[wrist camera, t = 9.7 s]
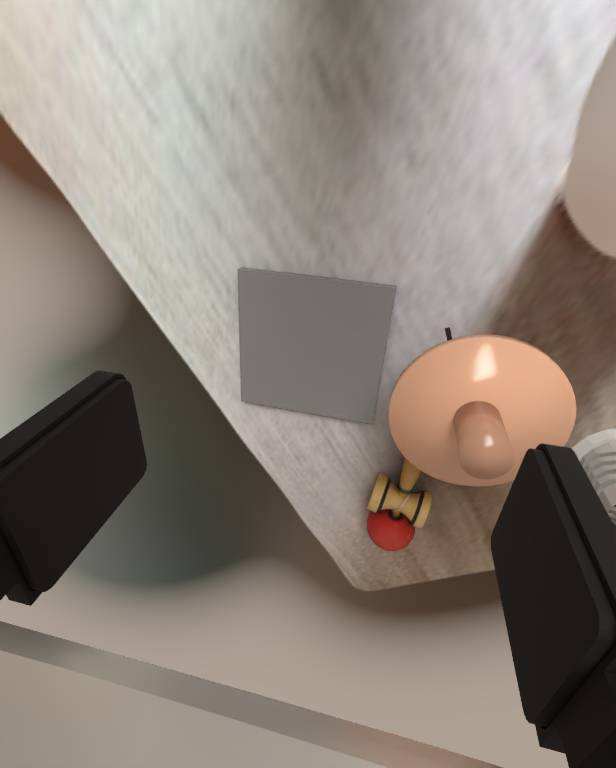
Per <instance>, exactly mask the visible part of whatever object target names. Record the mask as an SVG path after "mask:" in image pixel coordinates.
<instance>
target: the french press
mask: <svg viewBox="0 0 616 768" xmlns="http://www.w3.org/2000/svg"><path fill="white" fill-rule="evenodd" d="M571 449H573V451H574V452H575V454H576V455H577V457H578V459H579V461H580V463H581V465H582V467H583V469H584V470H585V472H586V474H587V476H588V478H589V480H590V482H591V483H592V485H593V487H594V489H595V491H596V493H597V495H598V496H599V498H600V500H601V502H602V504H603V506H604V508H605V510H606V511H607V513H608V515H609V517H612V518H614V519H616V515H615V514H612V513H609V511H610V510H612V511H615V512H616V507H613V506H614V505H616V429H606V430H603V431H600V432H598V433H595V434H592V435H590V436H587V437H585V438H584V439H583V440H582V441H580V442H579V443H578V444H576V445H575V446H574V447H573V448H571ZM612 522H613V523H615V525H616V522H614V521H612Z"/></svg>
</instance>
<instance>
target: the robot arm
mask: <svg viewBox="0 0 616 768" xmlns="http://www.w3.org/2000/svg"><path fill="white" fill-rule="evenodd" d="M146 466H147V462H146V457H145V452H144V446H143V442H142V437H141V431H140V426H139V421H138V416H137V412H136V406H135V402H134V397H133V391H132V387H131V384H130V383H129V382H128V381H126V378H125V377H124V375H122V374H119V373H112V372H106V371H96V372H94V373H93V374H91V375H90V376H89V377H87V378H86V379H84V380H83V381H81V382H80V383H79V384H77V385H76V386H74V387H73V388H72V389H70V390H69V391H67V392H66V393H65V394H63V395H62V396H60V397H59V398H57V399H56V400H54V401H53V402H52V403H50V404H49V405H47V406H46V407H45V408H44V409H42V410H40V411H39V412H38V413H36V414H35V415H33V416H32V417H30V418H29V419H28V420H26V421H25V422H24V423H22V424H21V425H19V426H18V427H16V428H15V429H13V430H12V431H11V432H9V433H8V434H6V435H5V436H4V437H2V438H1V439H0V600H1V599H2V598H3V597H4V596H5V595H7V597H8V599H9V600H12V601H15V602H19V603H23V604H26V605H30V606H31V605H32V604H33V603H34V602H35V600H36V599H37V598H38V597H39V595H40V594H41V593H42V592H45V591H48V590H49V589H50V588H52V587H53V586H54V584H55V583H56V582H57V581H58V580H59V578H60V577H61V576H62V575H63V573H64V572H65V571H66V570H67V568H68V567H69V566H70V565H71V564H72V562H73V561H74V560H75V559H76V558H77V556H78V555H79V554H80V552H81V551H82V550H83V549H84V548H85V547H86V545H87V544H88V543H89V542H90V540H91V539H92V538H93V537H94V536H95V534H96V533H97V532H98V531H99V529H100V528H101V527H102V526H103V525H104V523H105V522H106V521H107V520H108V518H109V517H110V516H111V515H112V513H113V512H114V511H115V510H116V509H117V507H118V506H119V505H120V504H121V503H122V501H123V500H124V499H125V498H126V496H127V495H128V494H129V493H130V492H131V490H132V489H133V488H134V487H135V485H136V484H137V483H138V482H139V481H140V479H141V478H142V477H143V475H144V473H145V471H146ZM491 551H492V556H493V561H494V566H495V571H496V575H497V581H498V585H499V591H500V596H501V601H502V606H503V611H504V616H505V621H506V626H507V630H508V636H509V641H510V646H511V651H512V656H513V661H514V667H515V672H516V677H517V682H518V687H519V691H520V697H521V702H522V707H523V711H524V715H525V717H526V719H527V721H528V722H529V723H532V724H535V726H536V731H537V736H538V740H539V745H540V747H543V748H547V749H551V750H554V751H558V752H561V753H565V754H566V757H567V761H568V765H569V768H616V525H615V523H613V522H612V521H611V519H610V517H609V515H608V513H607V511H606V510H605V508H604V506H603V504H602V502H601V500H600V498H599V496H598V495H597V493H596V491H595V489H594V487H593V485H592V483H591V482H590V480H589V478H588V476H587V474H586V472H585V470H584V469H583V467H582V465H581V463H580V461H579V459H578V457H577V455H576V454H575V452H574V451H573V449H571V448H568V447H561V446H555V445H549V444H543V443H542V444H539V445H538V446H537V447H536V449H532V448H530V449H528V450H527V452H526V453H525V456H524V458H523V461H522V463H521V465H520V468H519V470H518V472H517V475H516V477H515V480H514V482H513V484H512V487H511V489H510V492H509V494H508V496H507V499H506V501H505V503H504V506H503V508H502V511H501V513H500V515H499V518H498V520H497V523H496V525H495V527H494V530H493V532H492V536H491ZM0 768H502V767H499V766H496V765H493V764H490V763H486V762H483V761H480V760H477V759H474V758H470V757H467V756H464V755H461V754H458V753H454V752H451V751H448V750H445V749H442V748H438V747H435V746H432V745H428V744H425V743H422V742H418V741H414V740H411V739H408V738H405V737H401V736H398V735H394V734H391V733H387V732H384V731H381V730H377V729H374V728H370V727H367V726H364V725H360V724H357V723H353V722H350V721H347V720H343V719H340V718H336V717H333V716H329V715H326V714H323V713H319V712H316V711H312V710H309V709H305V708H302V707H298V706H295V705H292V704H288V703H285V702H282V701H278V700H275V699H271V698H268V697H264V696H261V695H258V694H254V693H251V692H247V691H244V690H240V689H237V688H233V687H230V686H226V685H222V684H219V683H216V682H212V681H209V680H205V679H202V678H198V677H195V676H192V675H188V674H184V673H181V672H177V671H174V670H171V669H167V668H163V667H160V666H157V665H153V664H149V663H146V662H142V661H139V660H136V659H132V658H129V657H125V656H121V655H118V654H115V653H111V652H107V651H104V650H101V649H97V648H94V647H90V646H86V645H83V644H79V643H75V642H72V641H69V640H65V639H62V638H58V637H54V636H51V635H47V634H44V633H40V632H37V631H33V630H30V629H26V628H22V627H19V626H15V625H12V624H8V623H5V622H1V621H0Z"/></svg>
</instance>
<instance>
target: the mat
mask: <svg viewBox="0 0 616 768" xmlns="http://www.w3.org/2000/svg"><path fill="white" fill-rule="evenodd" d="M395 290H396V286H392V285H383V284H375V283H367V282H359V281H350V280H342V279H334V278H325V277H317V276H309V275H300V274H292V273H284V272H276V271H267V270H259V269H251V268H242V267H241V268H240V269H238V293H239V331H240V369H241V401H242V402H247V403H253V404H259V405H265V406H270V407H276V408H282V409H287V410H293V411H299V412H304V413H310V414H316V415H322V416H327V417H333V418H339V419H344V420H350V421H356V422H362V423H367V424H373V419H374V413H375V407H376V401H377V395H378V390H379V384H380V378H381V372H382V366H383V360H384V355H385V349H386V343H387V337H388V331H389V325H390V320H391V314H392V308H393V302H394V296H395Z"/></svg>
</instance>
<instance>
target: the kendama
mask: <svg viewBox="0 0 616 768" xmlns="http://www.w3.org/2000/svg"><path fill="white" fill-rule="evenodd" d="M421 472H422V471H421V470H419V469H418V468H416V467H415V466H414V465H413V464H411V463H410V462H409V461H408V460H407V459H406V458H405V460H404V464H403V468H402V473H401V478H400V484H399V489H398V488H397V487H396V486H395V485H394V484H393V483H392V482H391V480H390V478H389V476H388V475H385V474H382V473H379V475H378V478H377V481H376V483H375V486H374V488H373V491H372V494H371V497H370V500H369V503H368V506H367V509H368V510H370V511H371V512H370V514H369V516H368V519H367V530H368V533H369V536H370V538H371V539H372V541H373V542H374V543H375V544H376V545H377V546H379V547H380V548H382V549H384V550H388V551H397V550H400V549H403V548H405V547H406V546H407V545H408V544H409V543H410V542H411V540H412V539H413V537H414V533H415V527H417V528H422V527H423V525H424V523H425V521H426V519H427V516H428V514H429V511H430V507H431V503H432V494H430V493H428V492H426V491H423V492H420V493H416V494H410V491H411V490H412V488H413V486H414V485H415V483H416V481H417V479H418V478H419V476H420V474H421Z"/></svg>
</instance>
